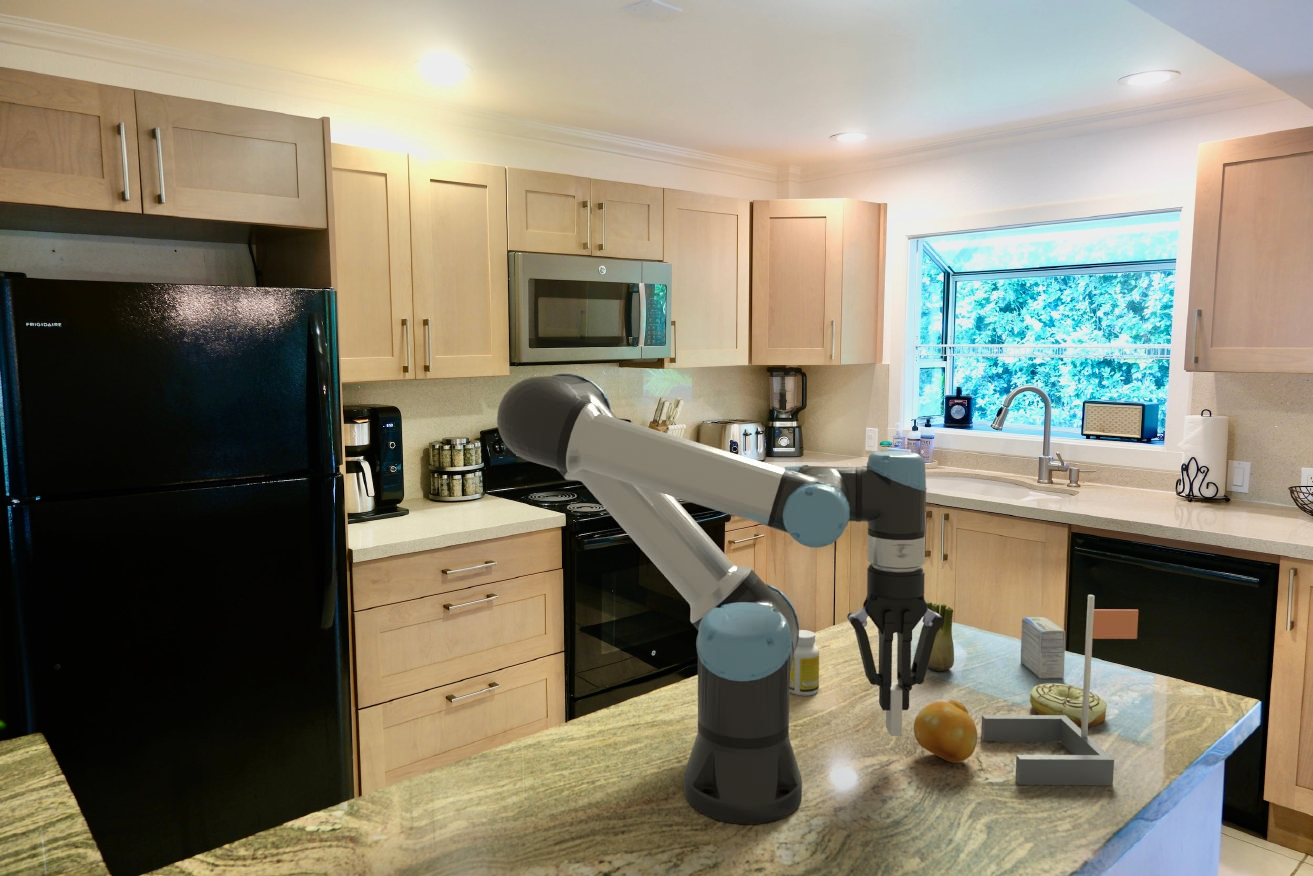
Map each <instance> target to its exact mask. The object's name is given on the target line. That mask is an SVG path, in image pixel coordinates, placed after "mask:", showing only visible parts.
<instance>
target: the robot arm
mask: <svg viewBox="0 0 1313 876" xmlns="http://www.w3.org/2000/svg"><path fill="white" fill-rule="evenodd" d="M496 415H497V417H496V422H497V428H498V429H497V430H498V433H499V435H500V437H501V439H502V441H503V443H504V444H505V446H506V447H507V448H508V449H509V450H510V451H511V452H512V453H513V454H515V455H516V456H517V457H520V458H522V459H523V460H525V461H528V462H532V463H535V464H539V465H542V466H546V467H550V468H551V469H556V470H557V471H558V473H559V474H561V476H562V477H563V478H564V479H565V480H569V481H579V482H581V483H582V484H583V485H584V486H585V487H586V488H587V490H589V492H590V493H591V494H592V495H593V496H594V498H595V499H596V500H597V501H598V502H599V504H601V505H602V506H603V508H604V509H605V510H606V511H607V512H608V514H609V515H610V516H611V517H612V518H613V519H614V520H615V521H616V522H617V523H618V525H619V526H620V527H621V528H622V529H623V530H624V531H625V533H626V534H628V536H629V538H630V539H632V541H633V542H634V543H635V544H636V545H637V546H638V548H640V550H641V551H642V552H643V553H644V554H645V555H646V556H647V558H649V560H650V561H651V562H652V563H653V564H654V565H655V566H656V568H657V569H658V570H659V571H660V572H661V574H662V575H664V577H665V578H666V579H667V580H668V581H669V583H670V584H671V585H672V586H673V587H674V589H675V590H677V592H678V593H679V594H680V595H681V596H682V598H683V599H685V601H686V602H687V603H688V604H689V607H690V619H689V621H690V622H691V624H692V625H693V626H694V627H695V629H696V630H697V631H698V634H697V637H696V642H695V645H696V654H697V733H696V736H695V739H694V742H693V746H692V749H691V751H690V755H689V757H688V761H687V763H686V766H685V769H684V775H683V792H684V797H685V798H686V801H687V802H688V803H689V805H690V806H691V807H693V808H694V809H695V810H696V811H698V812H700V813H701V814H703V815H705V816H706V817H709V818H712V819H715V820H719V821H721V822H726V823H732V824H741V825H742V824H743V825H757V824H758V825H759V824H764V823H770V822H774V821H777V820H780V819H783V818H785V817H787V816H789V815H791V814H792V813H794V811H796V810H797V809H798V807H799V806H800V804H801V802H802V798H803V779H802V774H801V772H800V769H799V765H798V763H797V758H796V755H795V753H794V749H793V746H792V743H791V740H790V731H789V729H790V728H789V727H790V723H789V722H790V692H789V686H790V672H791V667H792V662H793V658H794V652H795V650H796V647H797V644H798V640H799V630H800V624H799V618H798V615H797V612H796V609H795V607H794V604H793V603H792V602H791V600H790V599H789V597H788V596H787V595H786V594H785V593H784V592H783V591H782V590H780V589H778V587H777V588H776V587H775V586H773V585H771V584H767V583H765V582H764V581H763V579H761V578H760V576H759V575H758V574H757V573H756V572H755V571H754V570H753V568H751V567H750V566H743V565H736V564H734V563H733V562H732V560H731V559H729V557H728V556H727V555H726V554H725V553H724V552H723V551H722V549H721V548H720V547H719V546H718V545H717V544H716V543H715V541H713V539H712V538H711V537H710V536H709V535H708V534H707V533H706V532H705V530H704V529H703V528H702V527H701V526H700V525H699V523H697V521H696V520H695V519H694V518H693V517H692V516H691V514H690V513H688V511H687V510H686V509H685V508H684V507H683V506H682V504H681V503H680V502H679V501H678V500H677V499H679V500H682V501H686V502H688V503H689V502H690V503H692V504H695V505H699V506H701V507H705V508H708V509H712V510H715V511H719V512H721V513H724V514H727V515H731V516H734V517H738V518H740V519H744V520H748V521H750V522H753V523H758V524H759V525H763V526H766V527H769V528H772V529H775V530H776V531H781V532H784V533H786V534H789V535H790V536H791V538H792V539H793V540H795V541H796V542H797V543H799V544H800V545H802V546H804V547H809V548H815V549H816V548H824V547H827V546H829V545H832V544H833V543H835V542H836V541H837V540H839V538H840V537H841V536H843V533H844V531H845V529H846V528H847V526H848V525H849V522H857V523H860V522H866V523H867V553H866V554H867V557H866V559H867V562H868V563H870V564H869V565H868V566H867V568H866V570H867V572H866V578H867V579H866V586H867V587H866V597H865V600H864V601H863V603H862V604H863V605H862V607H861V609H859V610H858V611H856V612H849V613H847V616H846V617H847V620H848V622H849V623H850V625H851V626H852V627H853V630H854V632H855V636H856V641H857V645H858V649H859V654H860V657H861V662H862V665H863V669H864V672H865V673H864V674H865V677H866V678H867V680H868V682H869V683H870V684H871V685H873V686H878V695H879V696H878V703H879V707H880V708H881V710H882V711H885V729H886V730H887V731H888V734H889V735H890V736H891V737H902V736H903V711H908V710H909V708H910V692H911V691H912V690H913V686H916V685H922V684H923V683H924V681H925V678H926V674H927V671H928V663H929V659H930V656H931V652H932V648H933V644H934V641H935V637H936V634H937V632H938V631H939V629H940V628H941V626H942V625H943V623H944V619H943V618H942V617H941V616H940V614H938V613H937V612H933V611H931V610H929V609H928V606H927V603H926V600H925V575H926V574H925V573H926V571H925V569H924V568H923V567H922V566H923V565H924V564H925V556H926V555H925V554H926V553H925V552H926V547H925V546H926V511H927V510H926V508H927V505H926V504H927V483H926V482H927V481H926V480H927V477H926V476H927V475H926V461H925V459H924V458H923V457H922V455H920V454H918V453H917V452H913V451H912V452H911V451H903V450H901V451H899V450H890V451H889V450H888V451H874V452H872V453H870V454H869V456H868V457H867V459H868V460H867V462H866V465H863V466H855V467H854V466H827V465H826V466H821V465H809V464H803V465H796V466H795V465H793V466H791V465H790V466H784V467H780V466H777V465H774V464H770V463H767V462H764V461H760V460H756V459H754V458H750V457H747V456H743V455H740V454H738V453H737V454H736V453H733V452H730V451H727V450H724V449H720V448H717V447H713V446H710V445H706V444H704V443H700V442H696V441H694V440H691V439H687V438H683V437H680V436H677V435H673V434H670V433H667V432H664V431H659V430H656V429H655V428H654V429H653V428H651V427H647V426H644V425H640V424H636V423H633V422H630V421H626V420H624V419H619V418H618V417H617V416H616V415H615V413H613V411H612V409H611V404H610V401H609V398H608V397H607V394H606V393H605V392H604V390H603V389H602V388H601V387H600V386H599V385H598V384H597V383H595V382H594V381H592V380H591V379H590V378H586V377H583V376H581V375H578V374H573V373H557V374H554V375H550V376H549V375H548V376H545V375H544V376H531V377H528V378H524V379H522V380H521V381H519V382H517V383H515V384H514V385H513V386H511V387H510V388H509V389H508V390H507V391H506V393H505V394H504V395H503V396H502V398H501V401H500V403H499V406H498V409H497V414H496ZM868 617H869V618H870V620H871V621H872V622H873V623H874V624H873V625H875V627H876V628H877V634H878V672H877V668H876V664H875V661H874V656H873V652H872V648H871V644H870V639H869V636H868V635H869V634H868V632H867V630H866V628H865V627H867V626H868V620H867V618H868ZM921 620H922V623H923V625H922V627H921V630H920V634H919V637H918V641H917V646H916V650H915V653H914V657H913V659H912V641H913V630H914V629H916V626H917V625H918V624H919V623H920V622H921ZM895 633H896V634H897V638H896V639H897V640H896V641H897V645H896V646H897V647H896V648H897V649H896V652H897V654H896V655H897V656H896V658H897V659H896V661H897V662H896V663H897V664H896V680H897V682H892V681H893V680H892V678H893V677H892V675H893V673H892V672H893V641H894V634H895ZM912 660H913V661H912Z"/></svg>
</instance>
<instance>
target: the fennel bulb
mask: <svg viewBox="0 0 1313 876" xmlns="http://www.w3.org/2000/svg"><path fill="white" fill-rule="evenodd" d="M925 602H926V603H927V606H928V609H929V610H931V611H933V612H937V613H938V614H939V615H940V616H941V617H942V618H943V619H944V623H943V625H942V626H941V628H940V629H939V631H938V632H937V634H936V637H935V641H934V644H933V648H932V652H931V656H930V659H929V663H928V667H927V669H928V668H929V669H930V670H932V671H935V672H936V671H937V672H946V671H948V670H950V669H951V668H952V667H953V666H954V664H955V645H954V641H953V631H952V629H953V628H952V627H953V615H954V609H953V608H952V607H951V606H947V604H946V603H944V602H943V603H941V605H940V603H937V602H932V601H930V600H928V601H927V600H925Z"/></svg>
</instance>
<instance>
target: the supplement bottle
mask: <svg viewBox="0 0 1313 876" xmlns="http://www.w3.org/2000/svg"><path fill="white" fill-rule="evenodd" d="M819 649H820V648H818V646H817V645H816V633H815V632H813V631H810V630H805V629H799V640H798V644H797V647H796V650H795V652H794V658H793V662H792V667H791V672H790V686H789V693H791V694H793V695H797V696H803V697H805V696H812V695H815V694H818V692H819V690H820V688H819V687H820V650H819Z"/></svg>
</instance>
